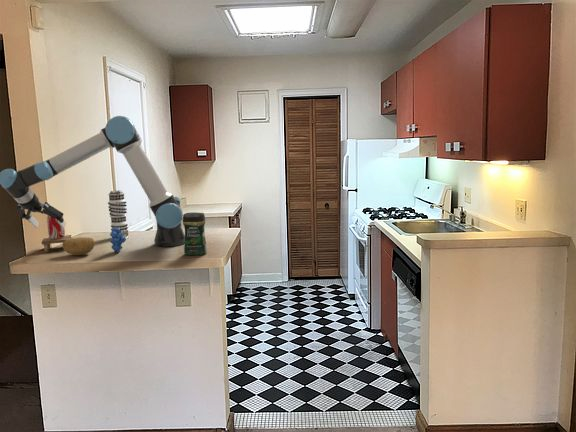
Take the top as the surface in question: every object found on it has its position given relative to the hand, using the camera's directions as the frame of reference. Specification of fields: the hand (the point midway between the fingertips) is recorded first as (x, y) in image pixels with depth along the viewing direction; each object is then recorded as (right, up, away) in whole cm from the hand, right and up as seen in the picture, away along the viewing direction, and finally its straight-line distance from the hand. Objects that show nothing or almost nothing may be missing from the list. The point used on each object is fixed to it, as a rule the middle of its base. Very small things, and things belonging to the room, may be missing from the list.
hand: (50, 225), depth 221 cm
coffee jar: (+71, -12, -13) cm, 73 cm away
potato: (+18, -13, -9) cm, 24 cm away
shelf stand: (+1, -11, +5) cm, 12 cm away
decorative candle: (+23, -7, +27) cm, 36 cm away
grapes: (+35, -12, -6) cm, 37 cm away
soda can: (+1, -6, +4) cm, 7 cm away
